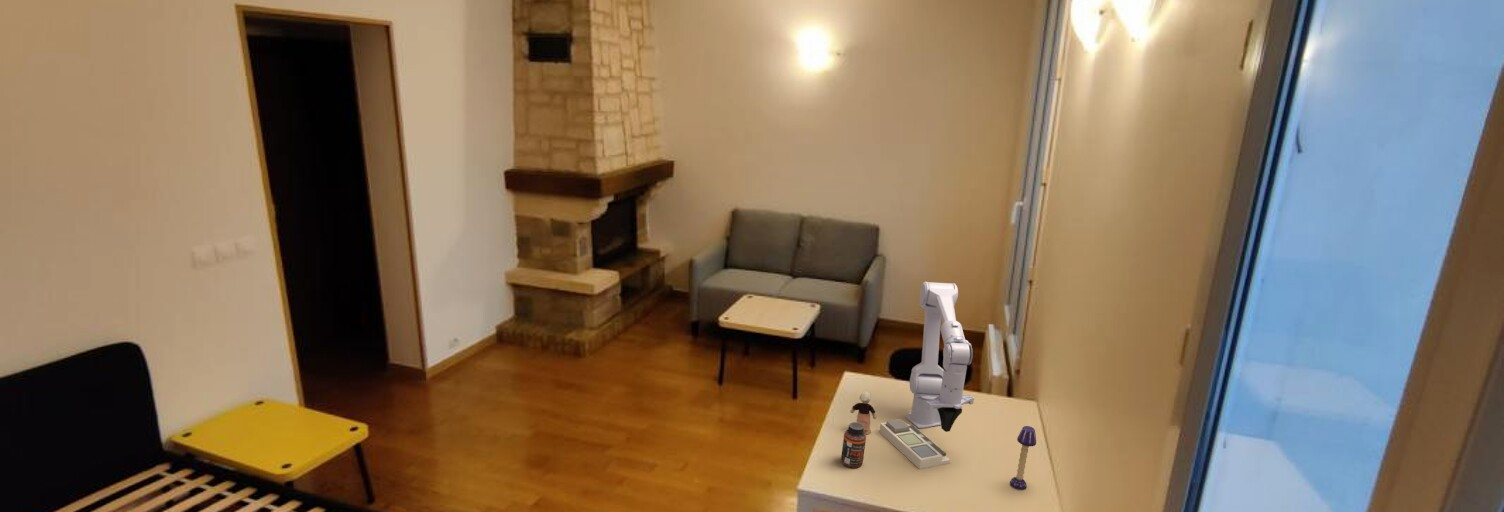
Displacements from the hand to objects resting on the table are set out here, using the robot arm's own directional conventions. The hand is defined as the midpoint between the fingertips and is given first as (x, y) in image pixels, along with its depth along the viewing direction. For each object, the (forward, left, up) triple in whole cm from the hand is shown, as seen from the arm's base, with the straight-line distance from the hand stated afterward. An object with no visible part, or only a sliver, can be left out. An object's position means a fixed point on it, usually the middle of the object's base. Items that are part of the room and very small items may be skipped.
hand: (945, 429), depth 193 cm
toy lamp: (-13, +16, -10) cm, 23 cm away
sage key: (+5, -8, -8) cm, 12 cm away
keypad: (+4, -8, -9) cm, 13 cm away
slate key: (+5, -2, -8) cm, 10 cm away
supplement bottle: (+25, -6, -10) cm, 27 cm away
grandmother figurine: (+14, -20, -10) cm, 26 cm away
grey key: (+5, -14, -7) cm, 17 cm away
